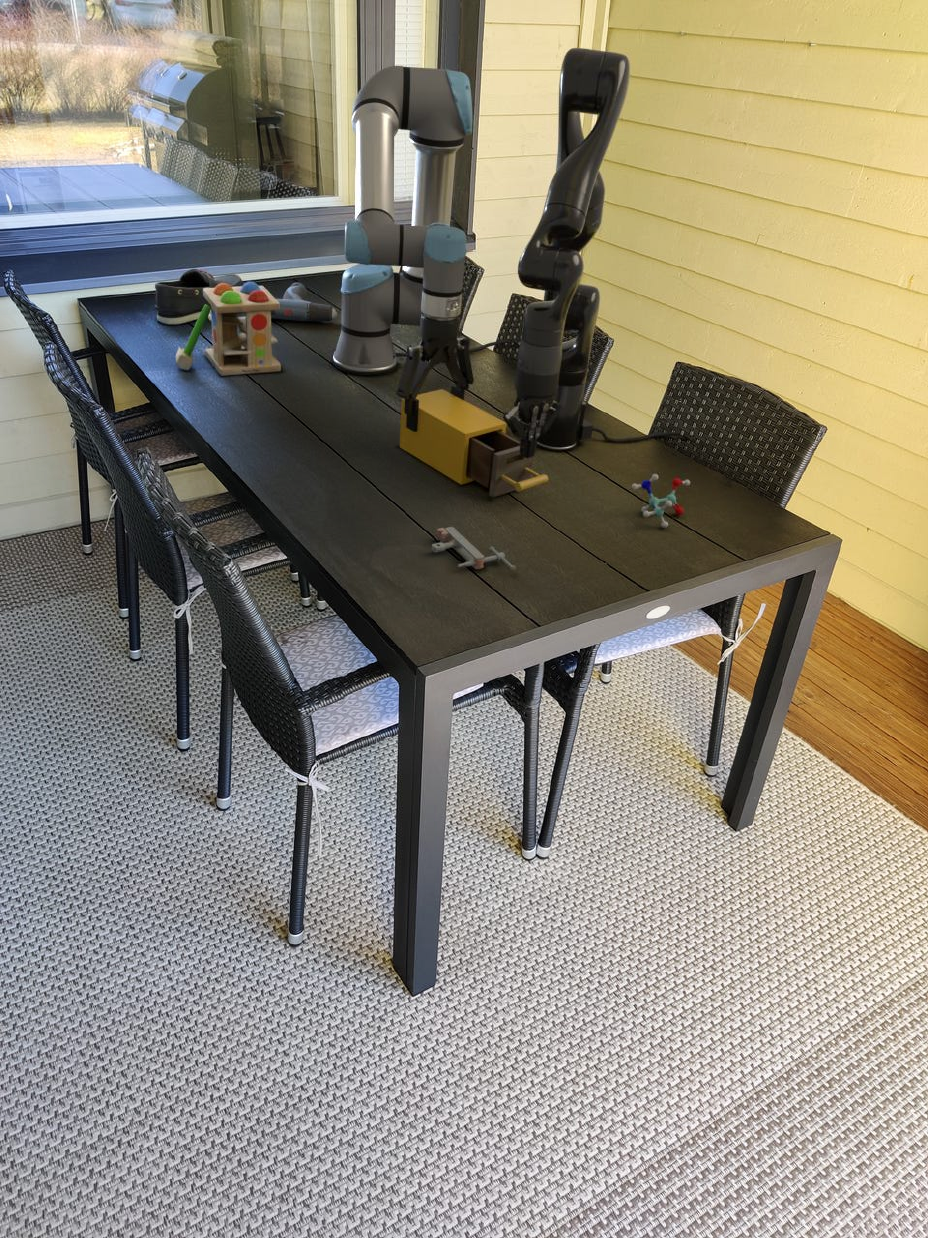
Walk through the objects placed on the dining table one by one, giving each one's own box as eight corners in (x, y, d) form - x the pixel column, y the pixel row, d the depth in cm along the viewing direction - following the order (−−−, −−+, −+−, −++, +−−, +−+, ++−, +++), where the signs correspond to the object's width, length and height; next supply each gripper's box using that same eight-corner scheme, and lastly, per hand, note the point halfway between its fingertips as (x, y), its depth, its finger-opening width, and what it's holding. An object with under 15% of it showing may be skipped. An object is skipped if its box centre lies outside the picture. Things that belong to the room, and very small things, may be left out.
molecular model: (693, 521, 176) (676, 468, 175) (642, 536, 180) (626, 484, 178) (699, 512, 187) (684, 462, 185) (651, 526, 190) (636, 477, 189)
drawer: (549, 497, 185) (556, 456, 181) (514, 509, 180) (519, 467, 175) (467, 450, 200) (471, 410, 195) (432, 460, 195) (435, 419, 190)
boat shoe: (263, 303, 272) (261, 264, 267) (174, 326, 248) (170, 284, 243) (229, 294, 278) (227, 256, 272) (139, 317, 254) (134, 275, 248)
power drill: (344, 304, 276) (335, 327, 259) (277, 298, 275) (264, 321, 258) (344, 285, 273) (335, 306, 256) (277, 279, 272) (264, 300, 255)
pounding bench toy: (183, 379, 220) (176, 299, 210) (169, 357, 231) (162, 280, 221) (282, 371, 230) (280, 294, 220) (264, 350, 240) (262, 276, 230)
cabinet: (501, 472, 195) (506, 422, 189) (461, 484, 189) (465, 434, 183) (438, 436, 207) (442, 388, 201) (399, 447, 201) (401, 398, 195)
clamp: (422, 531, 168) (472, 521, 172) (421, 542, 169) (471, 532, 174) (465, 574, 157) (517, 562, 162) (464, 586, 159) (516, 573, 163)
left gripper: (404, 329, 177) (399, 442, 190) (498, 312, 190) (488, 418, 203) (380, 317, 182) (376, 428, 194) (473, 301, 195) (464, 406, 207)
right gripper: (525, 379, 164) (514, 472, 174) (580, 365, 172) (566, 455, 182) (495, 364, 169) (486, 456, 179) (550, 351, 176) (538, 440, 186)
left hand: (433, 423), depth 198 cm, fingers closed on cabinet, 10 cm apart
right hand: (527, 455), depth 180 cm, fingers closed
